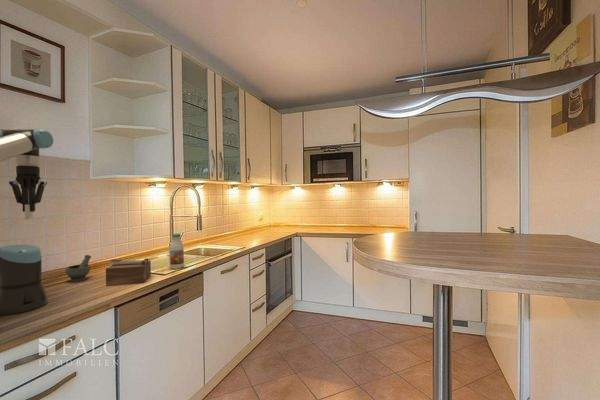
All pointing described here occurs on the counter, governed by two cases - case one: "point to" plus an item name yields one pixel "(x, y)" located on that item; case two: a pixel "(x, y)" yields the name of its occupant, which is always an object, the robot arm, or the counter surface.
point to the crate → (128, 273)
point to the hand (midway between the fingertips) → (29, 219)
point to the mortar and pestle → (79, 270)
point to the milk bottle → (176, 252)
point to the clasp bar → (126, 261)
